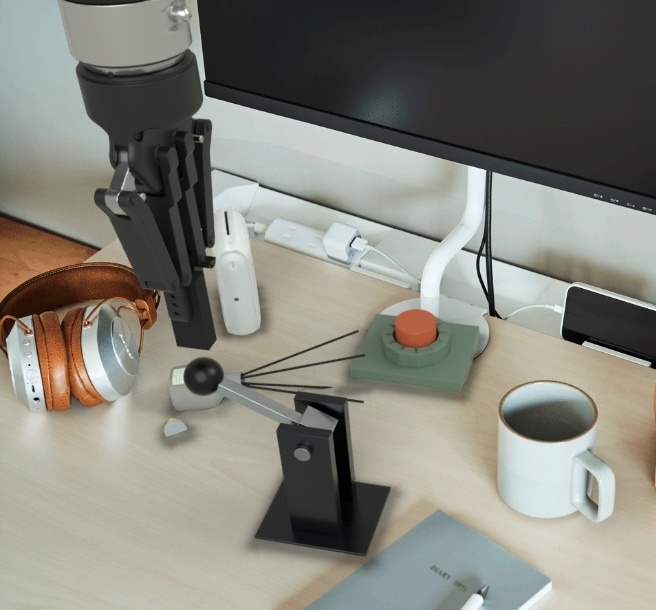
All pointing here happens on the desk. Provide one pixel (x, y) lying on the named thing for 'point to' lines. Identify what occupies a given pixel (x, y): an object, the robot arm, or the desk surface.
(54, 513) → the desk surface
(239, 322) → the photo printer
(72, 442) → the desk surface
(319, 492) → the bracket
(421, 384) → the button block
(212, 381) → the tap lever
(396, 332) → the button
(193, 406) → the reed diffuser
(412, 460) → the desk surface
